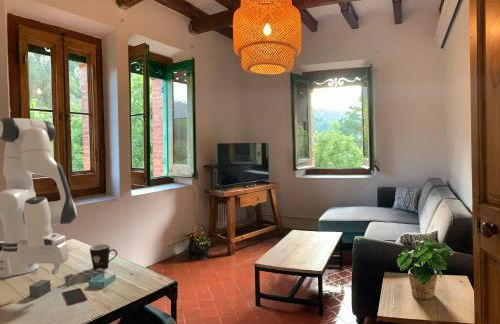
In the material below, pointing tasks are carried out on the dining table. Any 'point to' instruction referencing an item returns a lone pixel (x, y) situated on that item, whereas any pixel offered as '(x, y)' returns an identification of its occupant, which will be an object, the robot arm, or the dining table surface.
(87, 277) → the clip
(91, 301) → the dining table surface
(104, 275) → the clip
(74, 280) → the clip
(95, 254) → the coffee mug
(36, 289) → the connector plug
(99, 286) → the dock
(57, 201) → the robot arm
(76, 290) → the smartphone
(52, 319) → the dining table surface
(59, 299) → the dining table surface
